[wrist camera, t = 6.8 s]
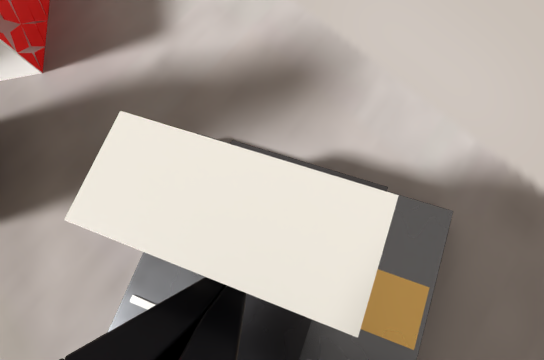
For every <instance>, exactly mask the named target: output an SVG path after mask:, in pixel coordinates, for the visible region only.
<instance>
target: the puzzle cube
mask: <svg viewBox="0 0 544 360" xmlns="http://www.w3.org/2000/svg"><path fill="white" fill-rule="evenodd" d="M49 1H50V0H0V81H2V80H8V79H13V78H18V77H23V76H29V75H34V74H39V73H43V62H44V52H45V43H46V32H47V22H48V11H49Z"/></svg>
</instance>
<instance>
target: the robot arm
mask: <svg viewBox="0 0 544 360" xmlns="http://www.w3.org/2000/svg"><path fill="white" fill-rule="evenodd" d="M246 295H247V293H245V292H242V291H240V290H237V289H235V288H232V287H230V286H227V285H225V284H222V283H220V282H217V281H215V280H212V279H210V278H207V277H204V278H202V279H201V280H199V281H197V282H195V283H194V284H192V285H190V286H188V287H187V288H185V289H183V290H181V291H180V292H178V293H176V294H174V295H173V296H171V297H169V298H167V299H166V300H164V301H162V302H160V303H158V304H157V305H155V306H153V307H151V308H150V309H148V310H146V311H144V312H143V313H141V314H139V315H137V316H136V317H134V318H132V319H130V320H129V321H127V322H125V323H123V324H122V325H120V326H118V327H116V328H115V329H113V330H111V331H109V332H107V333H106V334H104V335H102V336H100V337H99V338H97V339H95V340H93V341H92V342H90V343H88V344H86V345H85V346H83V347H81V348H79V349H78V350H76V351H74V352H72V353H71V354H69V355H67V356H66V357H65V360H237V356H238V349H239V342H240V336H241V329H242V322H243V316H244V309H245V302H246ZM60 360H64V359H60Z"/></svg>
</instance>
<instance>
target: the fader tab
mask: <svg viewBox="0 0 544 360" xmlns="http://www.w3.org/2000/svg"><path fill="white" fill-rule="evenodd" d="M398 196H399V195H396V194H393V193H389V192H386V191H383V190H379V189H376V188H373V187H370V186H366V185H363V184H360V183H356V182H353V181H350V180H347V179H343V178H340V177H337V176H333V175H330V174H327V173H323V172H320V171H317V170H314V169H310V168H307V167H304V166H300V165H297V164H294V163H291V162H287V161H284V160H281V159H277V158H274V157H271V156H268V155H264V154H261V153H258V152H254V151H251V150H248V149H245V148H241V147H238V146H235V145H231V144H228V143H225V142H222V141H218V140H215V139H212V138H208V137H205V136H202V135H199V134H195V133H192V132H189V131H185V130H182V129H179V128H176V127H172V126H169V125H166V124H162V123H159V122H156V121H153V120H149V119H146V118H143V117H139V116H136V115H133V114H129V113H126V112H123V111H120V112H119V114H118V116H117V118H116V120H115V122H114V124H113V126H112V128H111V130H110V132H109V134H108V136H107V138H106V139H105V141H104V143H103V145H102V147H101V149H100V151H99V153H98V155H97V157H96V159H95V161H94V163H93V165H92V167H91V169H90V171H89V172H88V174H87V176H86V178H85V180H84V182H83V184H82V186H81V188H80V190H79V192H78V194H77V196H76V198H75V200H74V202H73V204H72V206H71V207H70V209H69V211H68V213H67V215H66V217H65V219H64V220H65V221H68V222H70V223H73V224H75V225H78V226H80V227H83V228H85V229H88V230H90V231H93V232H95V233H98V234H100V235H103V236H105V237H108V238H110V239H113V240H115V241H118V242H120V243H123V244H125V245H128V246H130V247H133V248H135V249H138V250H140V251H143V252H145V253H147V254H150V255H152V256H155V257H157V258H160V259H162V260H165V261H167V262H170V263H172V264H175V265H177V266H180V267H182V268H185V269H187V270H190V271H192V272H195V273H197V274H200V275H202V276H205V277H207V278H210V279H212V280H215V281H217V282H220V283H222V284H225V285H227V286H230V287H232V288H235V289H237V290H240V291H242V292H245V293H247V294H250V295H252V296H255V297H257V298H260V299H262V300H265V301H267V302H270V303H272V304H275V305H277V306H280V307H282V308H285V309H287V310H290V311H292V312H295V313H297V314H300V315H302V316H305V317H307V318H310V319H312V320H315V321H317V322H320V323H322V324H325V325H327V326H330V327H332V328H335V329H337V330H340V331H342V332H345V333H347V334H350V335H352V336H355V337H357V338H358V336H359V332H360V329H361V325H362V322H363V318H364V315H365V311H366V308H367V304H368V301H369V297H370V294H371V290H372V287H373V283H374V280H375V276H376V273H377V269H378V266H379V262H380V259H381V255H382V252H383V248H384V245H385V241H386V238H387V234H388V231H389V227H390V224H391V220H392V217H393V213H394V210H395V206H396V203H397V199H398Z"/></svg>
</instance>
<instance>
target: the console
mask: <svg viewBox="0 0 544 360" xmlns="http://www.w3.org/2000/svg"><path fill="white" fill-rule="evenodd" d="M199 135H200V134H199ZM202 136H204V135H202ZM205 137H207V136H205ZM208 138H210V137H208ZM212 139H214V138H212ZM215 140H217V139H215ZM218 141H220V140H218ZM222 142H224V141H222ZM225 143H227V142H225ZM228 144H230V143H228ZM231 145H235V146H238V147H241V148H245V149H248V150H251V151H254V152H258V153H261V154H264V155H268V156H271V157H274V158H277V159H281V160H284V161H287V162H291V163H294V164H297V165H300V166H304V167H307V168H310V169H314V170H317V171H320V172H323V173H327V174H330V175H333V176H337V177H340V178H343V179H347V180H350V181H353V182H356V183H360V184H363V185H366V186H370V187H373V188H376V189H379V190H383V191H386V192H388V191H387V189H388V187H386V186H383V185H379V184H376V183H373V182H369V181H366V180H363V179H359V178H356V177H353V176H349V175H346V174H343V173H340V172H336V171H333V170H330V169H326V168H323V167H320V166H316V165H313V164H310V163H306V162H303V161H300V160H296V159H293V158H290V157H286V156H283V155H280V154H276V153H273V152H270V151H266V150H263V149H260V148H256V147H253V146H250V145H247V144H243V143H240V142H237V141H233V140H232V142H231ZM389 193H391V192H389ZM393 194H395V193H393ZM396 195H398V194H396ZM452 214H453V211H451V210H447V209H444V208H441V207H438V206H434V205H431V204H428V203H424V202H421V201H418V200H414V199H411V198H408V197H405V196H401V195H399V196H398V199H397V203H396V206H395V210H394V213H393V217H392V220H391V224H390V227H389V231H388V234H387V238H386V241H385V245H384V248H383V252H382V255H381V259H380V262H379V266H378V269H377V273H376V276H375V280H374V283H373V287H372V290H371V294H370V297H369V301H368V304H367V308H366V311H365V315H364V318H363V322H362V325H361V329H360V332H359V336H358V338H357V337H355V336H352V335H350V334H347V333H345V332H342V331H340V330H337V329H335V328H332V327H330V326H327V325H325V324H322V323H320V322H317V321H315V320H312V319H310V318H307V317H305V316H302V315H300V314H297V313H295V312H292V311H290V310H287V309H285V308H282V307H280V306H277V305H275V304H272V303H270V302H267V301H265V300H262V299H260V298H257V297H255V296H252V295H250V294H247V295H246V302H245V309H244V316H243V322H242V329H241V336H240V342H239V349H238V356H237V360H417V356H418V352H419V348H420V344H421V340H422V336H423V332H424V328H425V324H426V320H427V316H428V311H429V307H430V303H431V299H432V295H433V291H434V287H435V283H436V279H437V275H438V271H439V267H440V262H441V258H442V254H443V250H444V246H445V242H446V238H447V234H448V230H449V226H450V222H451V218H452ZM204 277H205V276H202V275H200V274H197V273H195V272H192V271H190V270H187V269H185V268H182V267H180V266H177V265H175V264H172V263H170V262H167V261H165V260H162V259H160V258H157V257H155V256H152V255H150V254H147V253H145V252H144V253H143V255H142V257H141V259H140V261H139V264H138V266H137V268H136V270H135V273H134V275H133V277H132V279H131V281H130V284H129V286H128V288H127V290H126V293H125V295H124V297H123V299H122V301H121V304H120V306H119V308H118V310H117V313H116V315H115V317H114V319H113V322H112V324H111V326H110V328H109V330H108V332H109V331H111V330H113V329H115V328H116V327H118V326H120V325H122V324H123V323H125V322H127V321H129V320H130V319H132V318H134V317H136V316H137V315H139V314H141V313H143V312H144V311H146V310H148V309H150V308H151V307H153V306H155V305H157V304H158V303H160V302H162V301H164V300H166V299H167V298H169V297H171V296H173V295H174V294H176V293H178V292H180V291H181V290H183V289H185V288H187V287H188V286H190V285H192V284H194V283H195V282H197V281H199V280H201V279H202V278H204Z"/></svg>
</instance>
